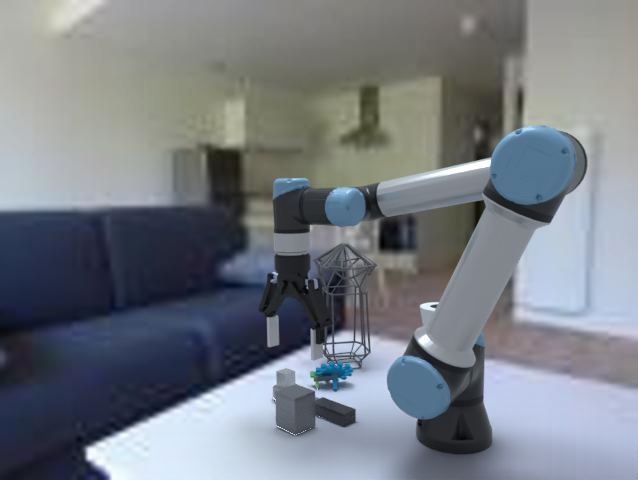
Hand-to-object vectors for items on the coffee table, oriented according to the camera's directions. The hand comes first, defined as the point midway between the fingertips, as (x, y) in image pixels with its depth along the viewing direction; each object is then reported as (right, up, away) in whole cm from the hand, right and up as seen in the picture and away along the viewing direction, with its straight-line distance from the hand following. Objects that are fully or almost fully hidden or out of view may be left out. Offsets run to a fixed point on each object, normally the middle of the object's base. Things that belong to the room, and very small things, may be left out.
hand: (294, 352), depth 121 cm
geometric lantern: (+13, -12, +41) cm, 45 cm away
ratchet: (+4, -15, +11) cm, 19 cm away
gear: (+9, -14, +26) cm, 30 cm away
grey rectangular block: (0, -16, +2) cm, 17 cm away
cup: (+38, -12, +36) cm, 54 cm away
